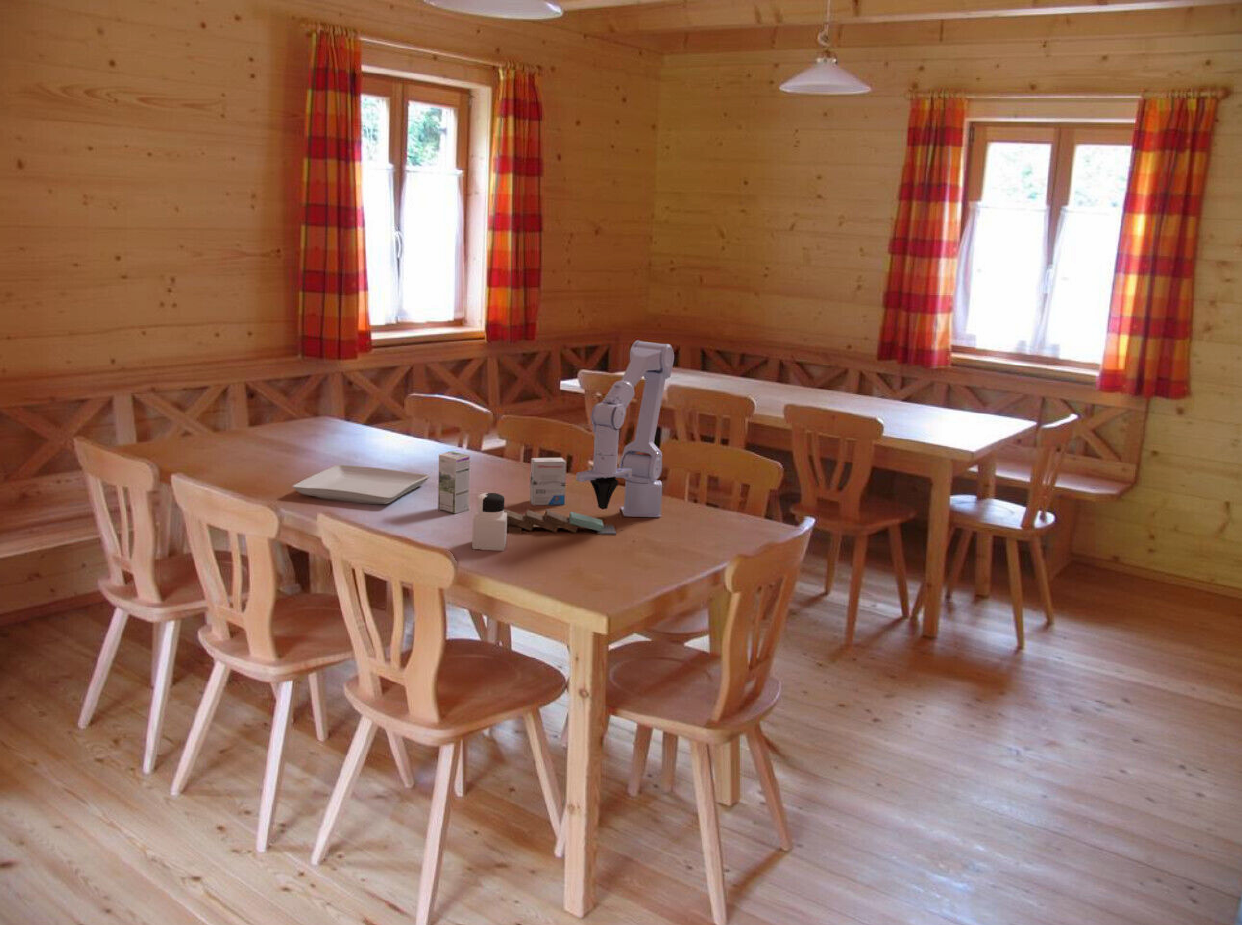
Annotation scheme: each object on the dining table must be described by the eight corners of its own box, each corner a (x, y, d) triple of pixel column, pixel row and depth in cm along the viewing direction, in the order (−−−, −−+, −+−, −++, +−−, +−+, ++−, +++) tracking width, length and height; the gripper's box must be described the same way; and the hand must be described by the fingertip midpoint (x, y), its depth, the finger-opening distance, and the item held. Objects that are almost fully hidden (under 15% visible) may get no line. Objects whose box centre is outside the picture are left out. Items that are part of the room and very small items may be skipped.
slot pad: (612, 526, 269) (613, 524, 269) (616, 534, 262) (616, 533, 262) (595, 526, 269) (595, 524, 268) (597, 534, 262) (598, 532, 262)
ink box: (560, 500, 290) (562, 457, 288) (564, 505, 286) (567, 461, 283) (528, 500, 288) (530, 457, 286) (532, 505, 283) (534, 461, 281)
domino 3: (558, 520, 266) (527, 509, 265) (558, 526, 261) (526, 515, 260) (556, 526, 266) (525, 515, 265) (556, 532, 261) (524, 521, 260)
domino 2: (521, 521, 265) (488, 521, 264) (521, 527, 260) (487, 527, 259) (521, 528, 265) (487, 527, 264) (521, 534, 261) (487, 533, 260)
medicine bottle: (506, 541, 252) (508, 491, 249) (504, 551, 245) (505, 499, 242) (475, 540, 252) (476, 490, 249) (472, 549, 245) (473, 498, 242)
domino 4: (576, 521, 266) (546, 509, 265) (578, 526, 262) (547, 514, 260) (574, 526, 267) (544, 514, 265) (575, 532, 262) (544, 520, 260)
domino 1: (534, 519, 265) (503, 508, 265) (533, 524, 261) (502, 513, 260) (532, 525, 266) (501, 514, 265) (531, 530, 261) (499, 519, 260)
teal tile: (601, 519, 267) (570, 511, 266) (603, 525, 262) (571, 517, 261) (599, 525, 268) (568, 517, 266) (601, 531, 263) (569, 523, 261)
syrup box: (469, 509, 276) (471, 453, 273) (454, 514, 271) (455, 457, 268) (452, 505, 279) (453, 450, 276) (436, 510, 274) (438, 453, 271)
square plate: (391, 511, 272) (391, 496, 271) (289, 499, 277) (289, 484, 276) (431, 486, 298) (431, 472, 297) (337, 476, 303) (337, 462, 302)
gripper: (622, 447, 268) (619, 501, 271) (571, 451, 260) (568, 506, 263) (638, 453, 262) (634, 508, 265) (586, 458, 255) (583, 514, 258)
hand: (602, 508), depth 264 cm, fingers closed
